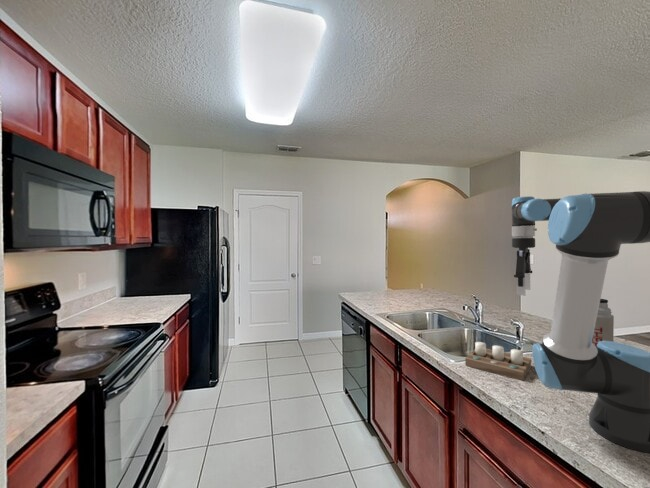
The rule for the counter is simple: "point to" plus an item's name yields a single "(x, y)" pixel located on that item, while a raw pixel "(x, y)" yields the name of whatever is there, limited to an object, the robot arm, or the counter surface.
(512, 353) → the button
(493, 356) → the button
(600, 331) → the thermos bottle
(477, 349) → the white rounded cylinder
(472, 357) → the button board
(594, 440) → the counter surface
